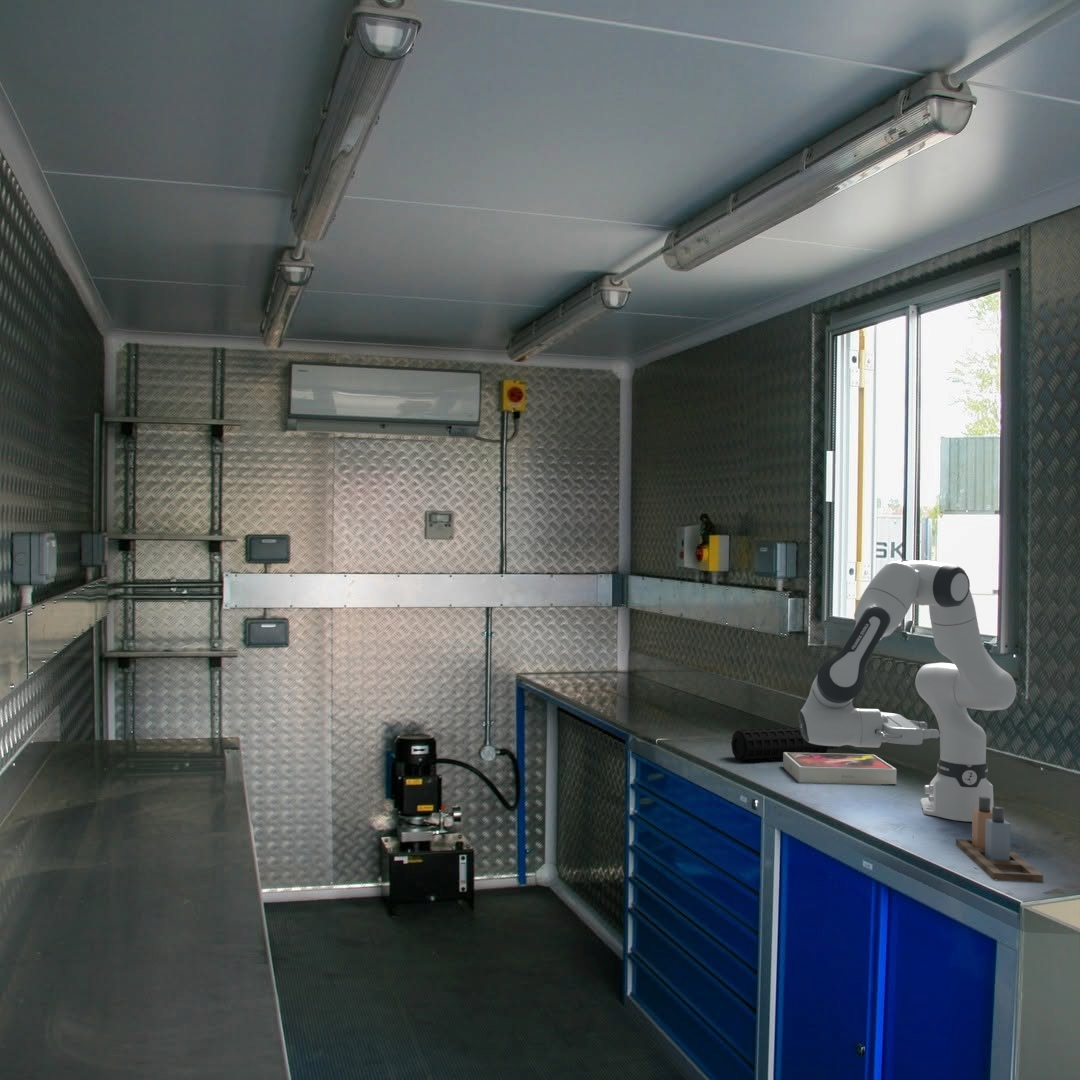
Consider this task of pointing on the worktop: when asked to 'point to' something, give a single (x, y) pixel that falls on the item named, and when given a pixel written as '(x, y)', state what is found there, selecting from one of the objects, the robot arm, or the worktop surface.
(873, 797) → the worktop surface
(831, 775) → the product packaging
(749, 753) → the roller
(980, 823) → the terracotta plug
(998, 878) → the plug dock
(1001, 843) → the slate plug
